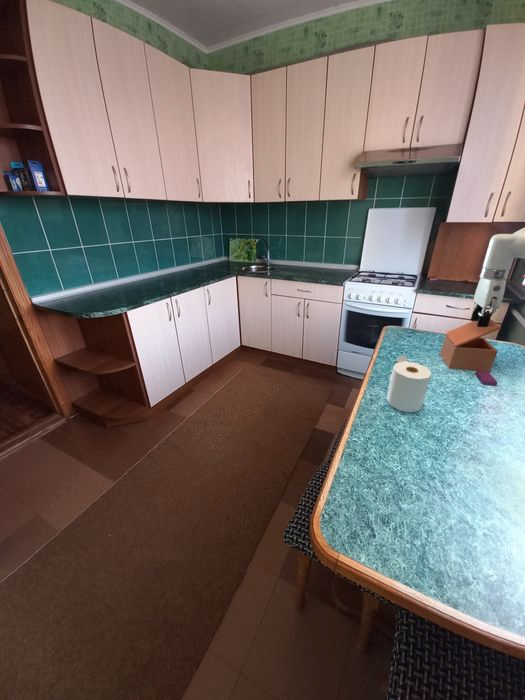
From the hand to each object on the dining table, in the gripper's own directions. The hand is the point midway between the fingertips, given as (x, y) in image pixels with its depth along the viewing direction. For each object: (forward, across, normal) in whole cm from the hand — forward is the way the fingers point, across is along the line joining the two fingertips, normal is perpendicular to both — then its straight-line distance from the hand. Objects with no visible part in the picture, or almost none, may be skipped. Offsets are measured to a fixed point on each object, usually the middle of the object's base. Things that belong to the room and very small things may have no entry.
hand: (478, 323), depth 106 cm
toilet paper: (+16, -32, +28) cm, 46 cm away
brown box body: (+17, 0, +1) cm, 17 cm away
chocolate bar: (+17, -12, -2) cm, 21 cm away
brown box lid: (+3, 0, +1) cm, 4 cm away
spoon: (+16, -11, +27) cm, 33 cm away
